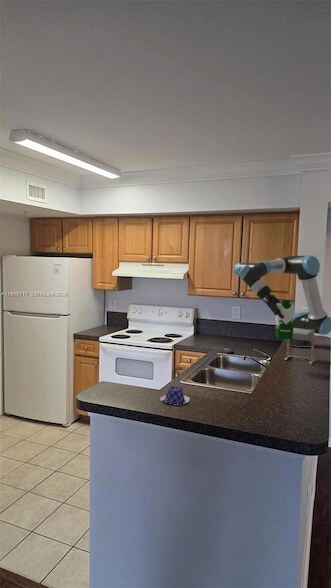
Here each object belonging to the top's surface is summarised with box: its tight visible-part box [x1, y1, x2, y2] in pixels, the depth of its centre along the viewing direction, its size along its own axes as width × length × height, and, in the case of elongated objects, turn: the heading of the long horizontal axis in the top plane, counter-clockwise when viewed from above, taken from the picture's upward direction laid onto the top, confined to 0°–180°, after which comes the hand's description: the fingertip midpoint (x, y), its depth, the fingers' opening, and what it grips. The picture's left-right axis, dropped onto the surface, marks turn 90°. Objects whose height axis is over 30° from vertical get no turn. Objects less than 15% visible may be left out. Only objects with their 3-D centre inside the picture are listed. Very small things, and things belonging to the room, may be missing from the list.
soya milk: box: [274, 299, 295, 340], centre depth 196 cm, size 9×9×20 cm
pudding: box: [159, 385, 191, 405], centre depth 152 cm, size 12×12×5 cm
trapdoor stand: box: [283, 329, 316, 365], centre depth 216 cm, size 10×15×19 cm
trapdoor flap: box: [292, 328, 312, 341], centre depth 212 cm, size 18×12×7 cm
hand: (290, 321), depth 194 cm, fingers closed on soya milk, 9 cm apart
